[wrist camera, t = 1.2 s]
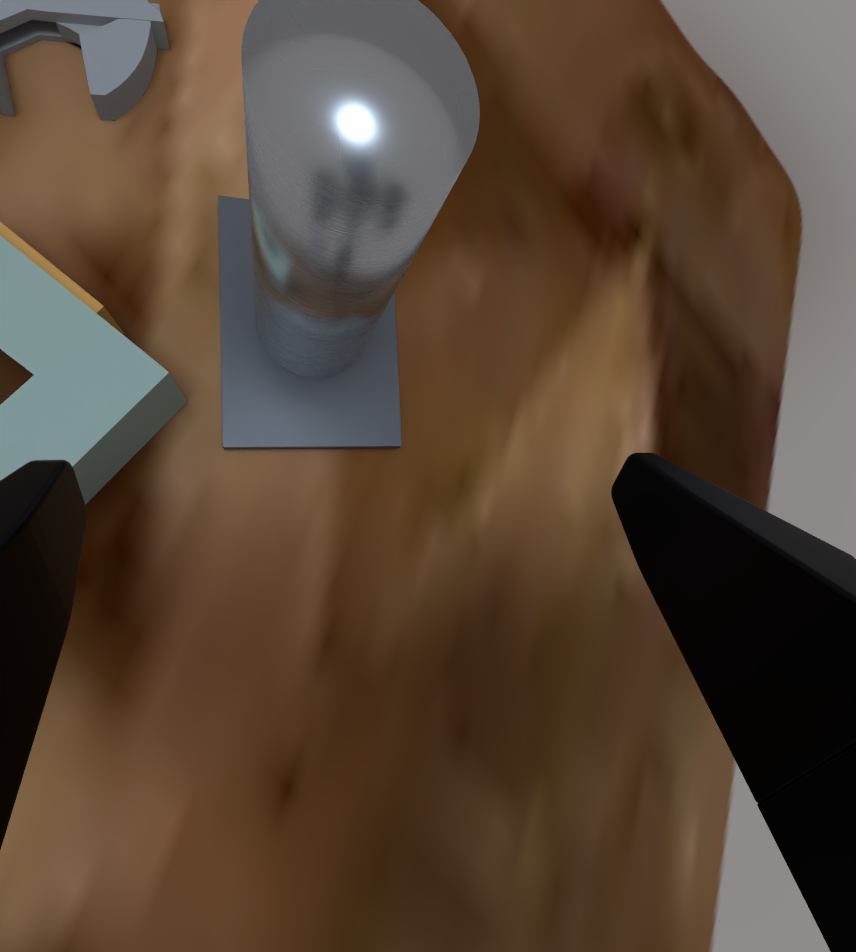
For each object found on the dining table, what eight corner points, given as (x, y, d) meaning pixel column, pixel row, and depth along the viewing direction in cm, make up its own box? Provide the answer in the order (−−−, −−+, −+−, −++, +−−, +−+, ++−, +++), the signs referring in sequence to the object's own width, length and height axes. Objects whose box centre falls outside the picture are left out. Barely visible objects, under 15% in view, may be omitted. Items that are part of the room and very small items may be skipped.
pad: (398, 448, 22) (401, 446, 21) (224, 449, 20) (222, 447, 19) (388, 226, 23) (391, 218, 22) (219, 204, 21) (218, 195, 20)
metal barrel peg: (387, 325, 22) (519, 107, 10) (320, 400, 21) (386, 247, 9) (305, 251, 21) (352, -75, 10) (231, 324, 20) (183, 55, 8)
